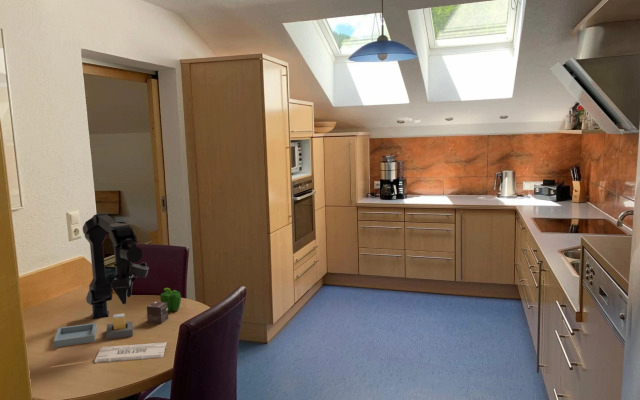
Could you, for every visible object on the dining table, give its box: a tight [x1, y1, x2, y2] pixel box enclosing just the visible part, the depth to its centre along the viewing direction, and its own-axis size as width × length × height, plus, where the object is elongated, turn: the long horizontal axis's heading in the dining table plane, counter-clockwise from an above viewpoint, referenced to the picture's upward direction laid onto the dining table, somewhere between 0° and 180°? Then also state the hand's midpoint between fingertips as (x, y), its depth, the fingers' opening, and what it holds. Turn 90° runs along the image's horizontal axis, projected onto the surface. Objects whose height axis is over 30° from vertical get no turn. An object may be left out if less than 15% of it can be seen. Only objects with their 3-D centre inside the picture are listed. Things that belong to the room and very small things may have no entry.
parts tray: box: [53, 322, 98, 349], centre depth 183 cm, size 13×13×3 cm
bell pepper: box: [159, 287, 182, 312], centre depth 212 cm, size 8×8×10 cm
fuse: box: [112, 313, 126, 330], centre depth 186 cm, size 3×4×7 cm
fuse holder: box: [105, 320, 134, 341], centre depth 187 cm, size 9×9×3 cm
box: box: [146, 301, 169, 325], centre depth 199 cm, size 6×6×7 cm
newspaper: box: [94, 341, 168, 364], centre depth 172 cm, size 23×12×2 cm, turn 100°
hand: (126, 300), depth 185 cm, fingers open, 9 cm apart
